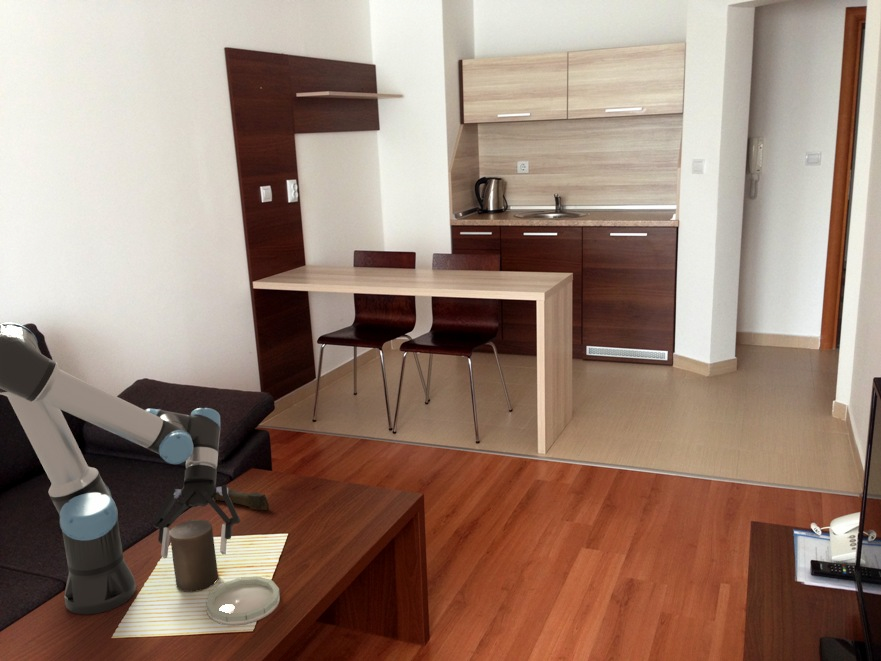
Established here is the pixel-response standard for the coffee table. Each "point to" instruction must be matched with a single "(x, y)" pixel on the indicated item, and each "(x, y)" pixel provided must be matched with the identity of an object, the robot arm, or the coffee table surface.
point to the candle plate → (243, 600)
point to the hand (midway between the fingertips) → (193, 554)
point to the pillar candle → (193, 555)
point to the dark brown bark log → (246, 499)
